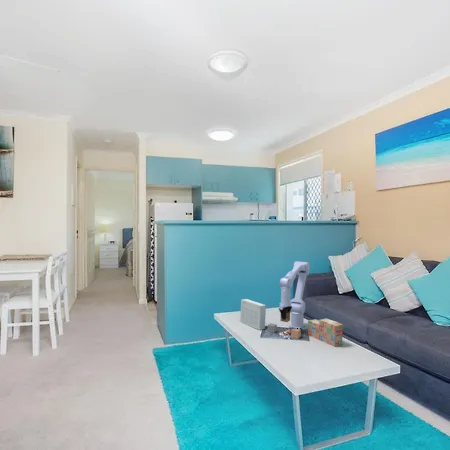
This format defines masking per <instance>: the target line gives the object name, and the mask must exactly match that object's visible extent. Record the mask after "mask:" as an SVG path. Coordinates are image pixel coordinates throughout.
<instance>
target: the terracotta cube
mask: <svg viewBox="0 0 450 450" xmlns="http://www.w3.org/2000/svg"><path fill="white" fill-rule="evenodd" d="M292 337H293V339H296V338H297V340H299V339H300V338H301V337H302V330H301V329H297V328H293V327H292V329H291V330H290V338H292Z"/></svg>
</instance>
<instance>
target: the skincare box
mask: <svg viewBox="0 0 450 450" xmlns="http://www.w3.org/2000/svg"><path fill="white" fill-rule="evenodd" d="M266 308H267V305H266V304H264V303H260V302H257V301H254V300H251V299H248V298H244V299H243V298H241V300H240V318H239V319H240V320H239V321H240V323H242V324H245V325H246V326H249V327H252V328H254V329H256V330H259V331H261V330H265V329H266V312H267V310H266Z"/></svg>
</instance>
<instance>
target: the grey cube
mask: <svg viewBox="0 0 450 450" xmlns="http://www.w3.org/2000/svg"><path fill="white" fill-rule="evenodd" d="M266 330H267V331H268V332H267V333H270V332H273V333H272V334H275V333H277V332H276V331H278V324H276V323H268V324H267V329H266ZM274 332H275V333H274Z"/></svg>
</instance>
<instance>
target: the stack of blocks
mask: <svg viewBox="0 0 450 450" xmlns="http://www.w3.org/2000/svg"><path fill="white" fill-rule="evenodd" d="M307 325H308V327H307V330H308V333H307V335H308V336H310V337H312V338H313V339H317V340H318V341H321V342H323V343H325V344H328V345H330V346H332V347H340V346H343V332H344V330H343V328H344V324H343V323H340V322H338V321H335V320H332V319H329V318H322V319H316V318H314V319H310V320H308V323H307Z"/></svg>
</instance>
